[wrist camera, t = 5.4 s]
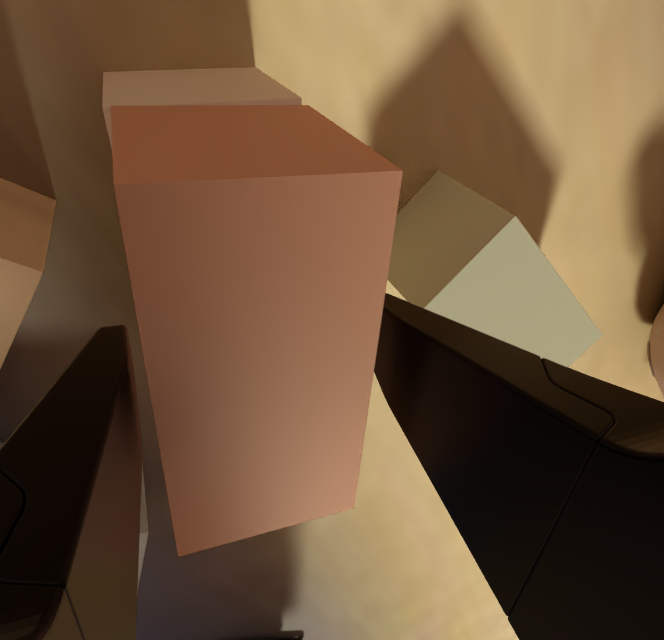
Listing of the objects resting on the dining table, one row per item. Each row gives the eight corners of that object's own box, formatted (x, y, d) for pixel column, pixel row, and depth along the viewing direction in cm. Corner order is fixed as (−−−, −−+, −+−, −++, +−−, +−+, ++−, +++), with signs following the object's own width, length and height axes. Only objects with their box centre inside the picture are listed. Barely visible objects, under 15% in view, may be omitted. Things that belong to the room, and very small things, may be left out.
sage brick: (526, 279, 20) (603, 335, 17) (463, 341, 21) (526, 405, 18) (436, 168, 16) (515, 215, 13) (360, 249, 17) (418, 313, 14)
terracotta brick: (297, 384, 14) (353, 508, 10) (160, 410, 12) (178, 557, 9) (308, 105, 10) (403, 170, 7) (110, 105, 9) (114, 184, 5)
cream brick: (267, 302, 17) (304, 379, 14) (156, 322, 16) (169, 409, 12) (253, 66, 13) (301, 97, 10) (103, 70, 12) (102, 107, 9)
